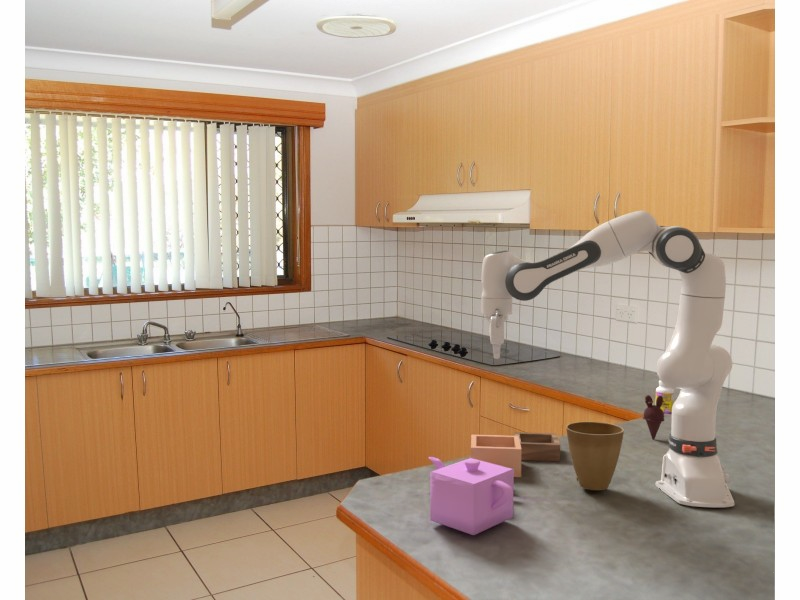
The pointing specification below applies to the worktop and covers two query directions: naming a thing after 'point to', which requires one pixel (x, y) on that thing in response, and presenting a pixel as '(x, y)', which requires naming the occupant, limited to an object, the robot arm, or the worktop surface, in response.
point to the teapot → (470, 495)
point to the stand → (498, 451)
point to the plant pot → (594, 452)
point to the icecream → (653, 414)
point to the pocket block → (539, 446)
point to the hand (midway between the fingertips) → (496, 356)
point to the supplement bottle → (665, 397)
